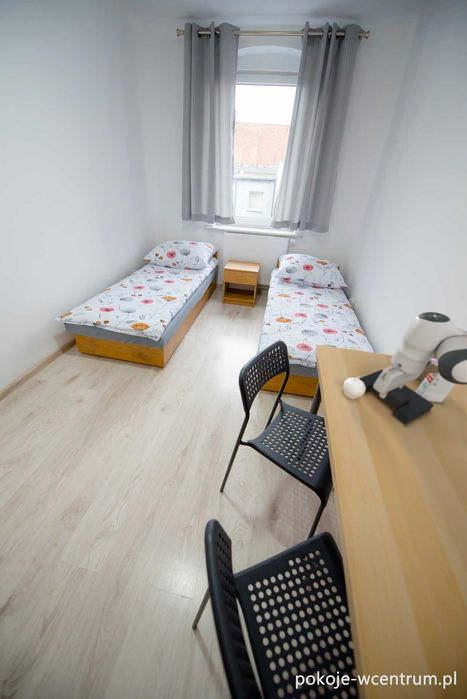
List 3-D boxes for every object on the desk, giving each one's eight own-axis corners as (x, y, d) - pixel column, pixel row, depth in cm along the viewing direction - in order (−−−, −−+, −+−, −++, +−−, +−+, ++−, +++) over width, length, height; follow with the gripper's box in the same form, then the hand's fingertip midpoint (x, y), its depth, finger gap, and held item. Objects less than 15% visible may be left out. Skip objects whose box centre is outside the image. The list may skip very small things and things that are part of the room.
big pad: (429, 411, 93) (434, 404, 91) (405, 425, 87) (410, 418, 85) (378, 375, 107) (382, 369, 105) (355, 384, 100) (358, 378, 98)
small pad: (405, 404, 92) (411, 396, 90) (394, 410, 89) (400, 401, 87) (379, 385, 99) (384, 377, 97) (369, 390, 96) (373, 381, 94)
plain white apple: (362, 393, 97) (371, 375, 92) (359, 405, 91) (368, 387, 87) (342, 385, 99) (349, 368, 95) (338, 397, 94) (346, 379, 89)
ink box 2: (414, 393, 100) (435, 361, 92) (436, 396, 100) (459, 364, 92) (418, 400, 97) (441, 367, 89) (441, 403, 97) (465, 371, 89)
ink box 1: (432, 381, 107) (444, 364, 103) (430, 385, 105) (442, 368, 100) (405, 368, 113) (415, 351, 108) (402, 372, 110) (412, 355, 105)
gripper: (397, 375, 78) (377, 409, 86) (435, 359, 88) (414, 391, 96) (378, 363, 83) (361, 396, 90) (416, 348, 92) (398, 380, 100)
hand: (389, 393), depth 93 cm, fingers closed on small pad, 6 cm apart
